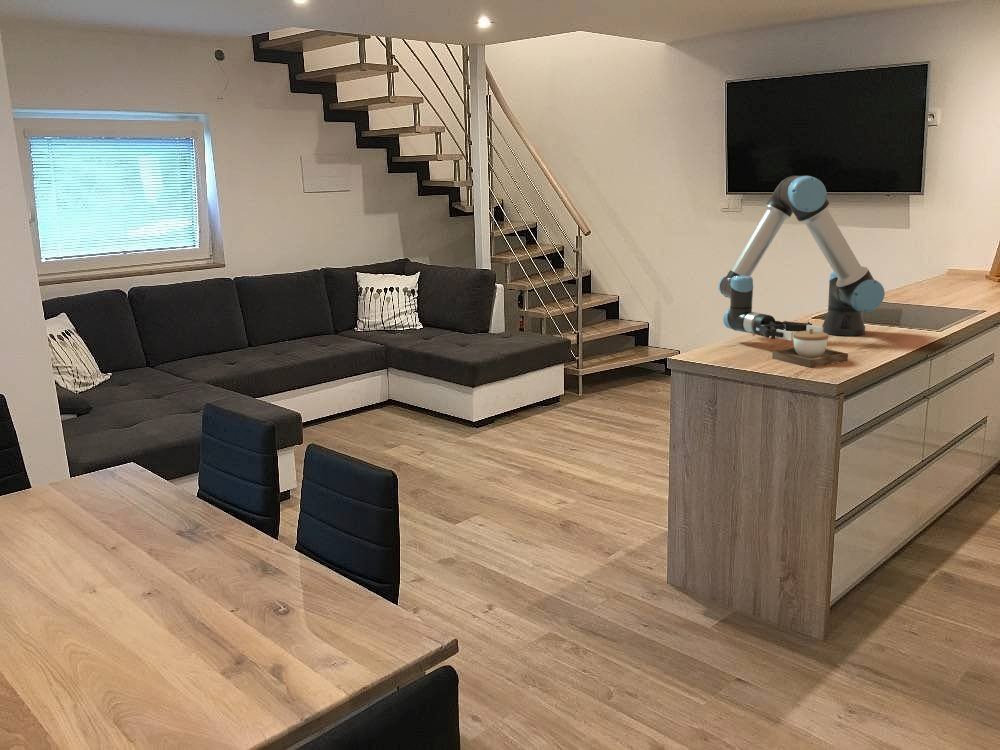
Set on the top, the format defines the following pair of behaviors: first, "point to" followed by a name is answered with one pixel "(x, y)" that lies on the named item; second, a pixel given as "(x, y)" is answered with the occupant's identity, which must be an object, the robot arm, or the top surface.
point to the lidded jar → (810, 343)
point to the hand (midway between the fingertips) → (807, 334)
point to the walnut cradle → (794, 358)
